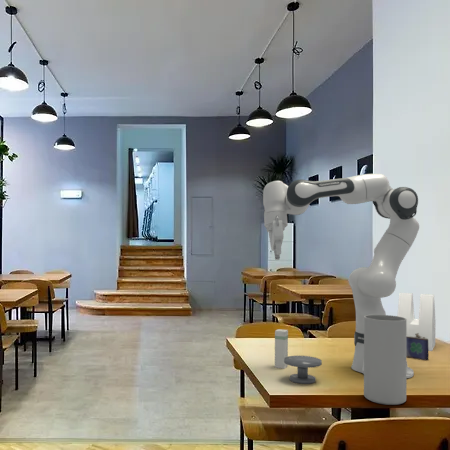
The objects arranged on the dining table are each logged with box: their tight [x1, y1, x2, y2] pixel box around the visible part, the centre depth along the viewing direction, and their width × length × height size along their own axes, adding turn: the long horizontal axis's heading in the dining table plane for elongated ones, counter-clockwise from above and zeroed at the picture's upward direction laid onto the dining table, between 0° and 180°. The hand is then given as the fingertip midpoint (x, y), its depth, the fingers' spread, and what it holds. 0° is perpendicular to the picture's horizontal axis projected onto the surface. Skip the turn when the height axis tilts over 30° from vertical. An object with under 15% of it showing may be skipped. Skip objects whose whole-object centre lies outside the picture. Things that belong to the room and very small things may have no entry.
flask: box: [406, 333, 430, 361], centre depth 199 cm, size 9×3×11 cm, turn 50°
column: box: [274, 328, 289, 369], centre depth 181 cm, size 4×4×14 cm
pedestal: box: [284, 355, 323, 385], centre depth 163 cm, size 13×13×7 cm
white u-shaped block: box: [396, 292, 436, 352], centre depth 226 cm, size 19×15×25 cm
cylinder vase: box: [363, 314, 407, 406], centre depth 145 cm, size 12×12×25 cm
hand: (278, 256), depth 175 cm, fingers open, 8 cm apart
